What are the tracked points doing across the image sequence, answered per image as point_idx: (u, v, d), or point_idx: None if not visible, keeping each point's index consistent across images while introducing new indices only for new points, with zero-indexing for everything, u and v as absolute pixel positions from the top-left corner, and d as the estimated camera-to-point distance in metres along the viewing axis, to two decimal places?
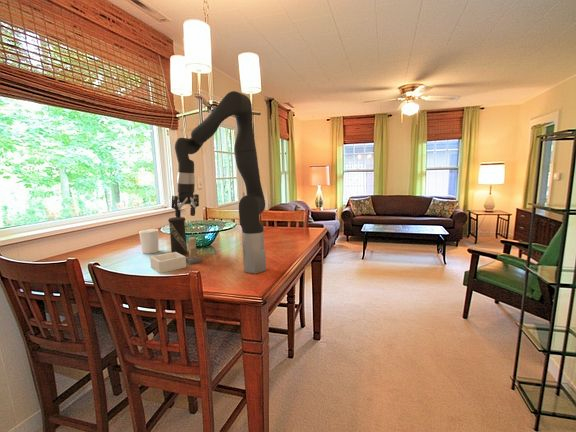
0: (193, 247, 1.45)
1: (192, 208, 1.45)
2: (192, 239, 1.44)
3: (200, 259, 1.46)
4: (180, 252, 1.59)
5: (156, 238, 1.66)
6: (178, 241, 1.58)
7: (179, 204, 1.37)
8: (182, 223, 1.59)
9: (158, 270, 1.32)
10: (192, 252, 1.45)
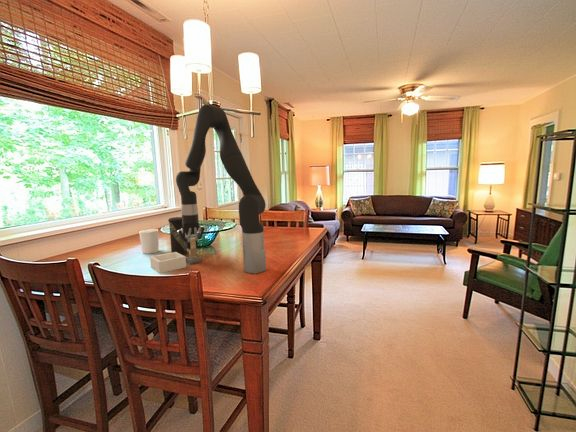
0: (192, 246, 1.45)
1: None
2: (192, 239, 1.44)
3: (200, 259, 1.46)
4: (180, 252, 1.59)
5: (156, 238, 1.66)
6: (178, 241, 1.58)
7: (187, 236, 1.43)
8: None
9: (158, 270, 1.32)
10: (192, 252, 1.45)
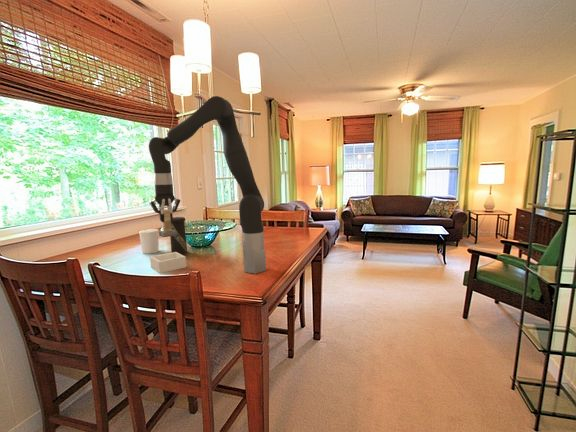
0: (167, 219, 1.35)
1: None
2: (166, 210, 1.35)
3: (175, 232, 1.37)
4: (180, 252, 1.59)
5: (156, 238, 1.66)
6: (178, 241, 1.58)
7: (160, 208, 1.34)
8: (182, 223, 1.59)
9: (158, 270, 1.32)
10: (166, 225, 1.35)
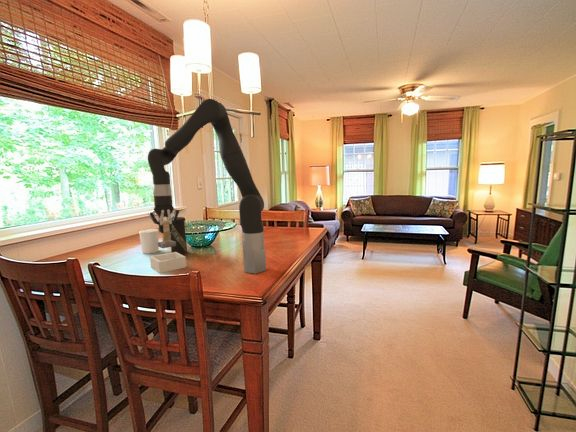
0: (166, 230, 1.35)
1: None
2: (165, 221, 1.35)
3: (174, 243, 1.37)
4: (180, 252, 1.59)
5: (156, 238, 1.66)
6: (178, 241, 1.58)
7: (159, 219, 1.34)
8: (182, 223, 1.59)
9: (158, 270, 1.32)
10: (165, 235, 1.35)
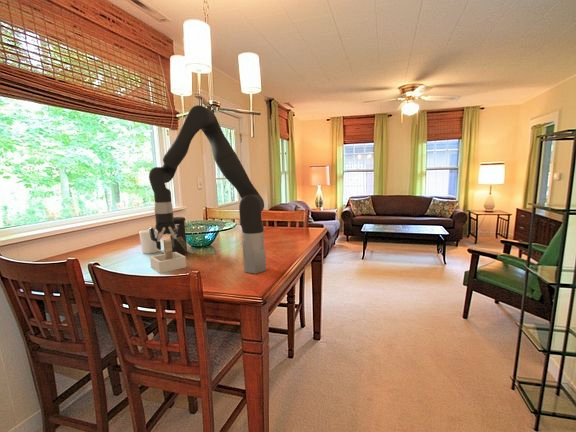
0: (168, 249, 1.36)
1: (173, 239, 1.39)
2: (168, 241, 1.36)
3: None
4: (180, 252, 1.59)
5: None
6: (178, 241, 1.58)
7: (158, 235, 1.34)
8: (182, 223, 1.59)
9: (158, 270, 1.32)
10: (168, 255, 1.36)
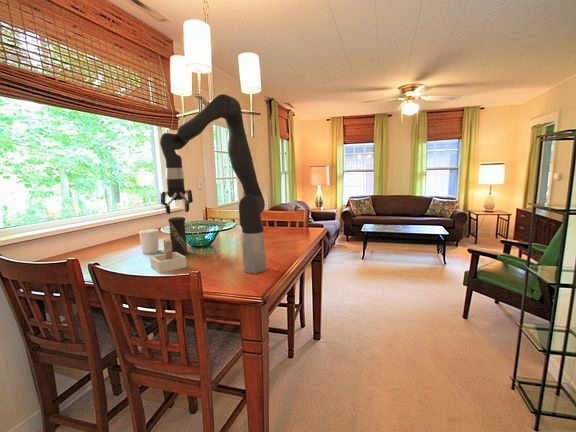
0: (168, 249, 1.36)
1: (185, 204, 1.43)
2: (168, 241, 1.36)
3: None
4: (180, 252, 1.59)
5: (156, 238, 1.66)
6: (178, 241, 1.58)
7: (168, 200, 1.37)
8: (182, 223, 1.59)
9: (158, 270, 1.32)
10: (168, 255, 1.36)
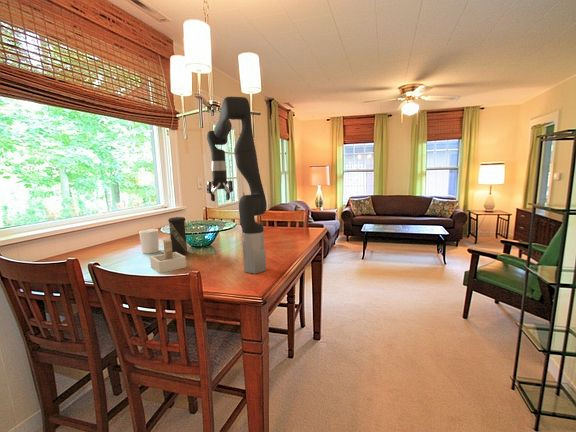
0: (168, 249, 1.36)
1: (227, 193, 1.62)
2: (168, 241, 1.36)
3: None
4: (180, 252, 1.59)
5: (156, 238, 1.66)
6: (178, 241, 1.58)
7: (213, 189, 1.57)
8: (182, 223, 1.59)
9: (158, 270, 1.32)
10: (168, 255, 1.36)
